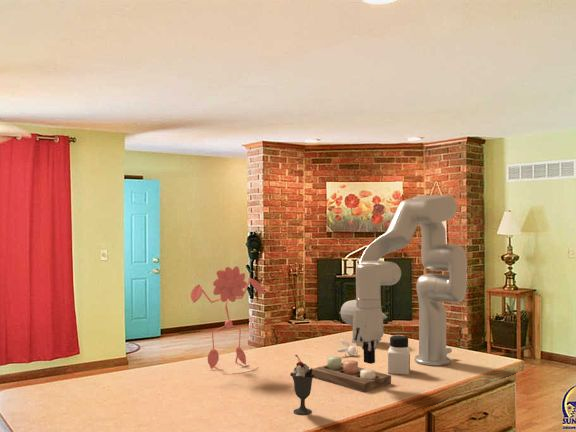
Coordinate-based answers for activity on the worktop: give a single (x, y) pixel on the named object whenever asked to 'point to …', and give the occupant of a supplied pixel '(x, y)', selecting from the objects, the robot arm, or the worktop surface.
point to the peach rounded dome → (350, 367)
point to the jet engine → (351, 313)
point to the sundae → (302, 385)
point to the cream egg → (367, 374)
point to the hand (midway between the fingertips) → (369, 362)
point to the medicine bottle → (399, 355)
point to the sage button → (334, 363)
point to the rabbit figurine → (350, 349)
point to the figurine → (230, 289)
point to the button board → (351, 379)
